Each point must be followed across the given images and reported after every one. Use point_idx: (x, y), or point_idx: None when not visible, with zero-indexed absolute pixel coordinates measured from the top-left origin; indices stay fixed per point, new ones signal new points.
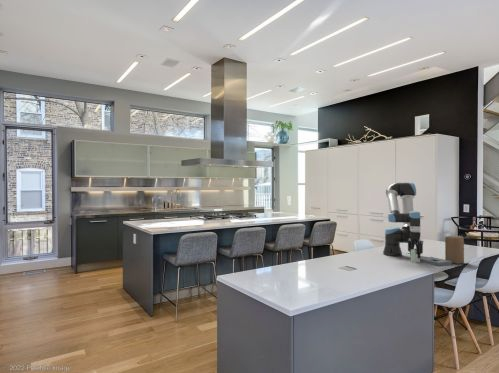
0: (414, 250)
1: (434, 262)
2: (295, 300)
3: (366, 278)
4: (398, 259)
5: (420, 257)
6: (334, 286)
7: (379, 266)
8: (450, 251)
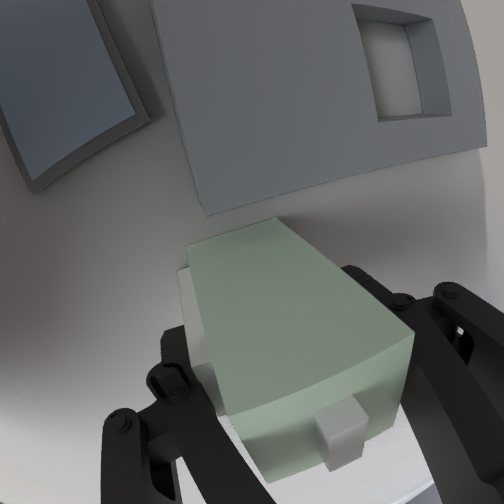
0: (370, 432)
1: (458, 149)
2: (422, 489)
3: (413, 472)
4: (85, 395)
5: (2, 53)
6: (413, 486)
7: (321, 486)
8: None
